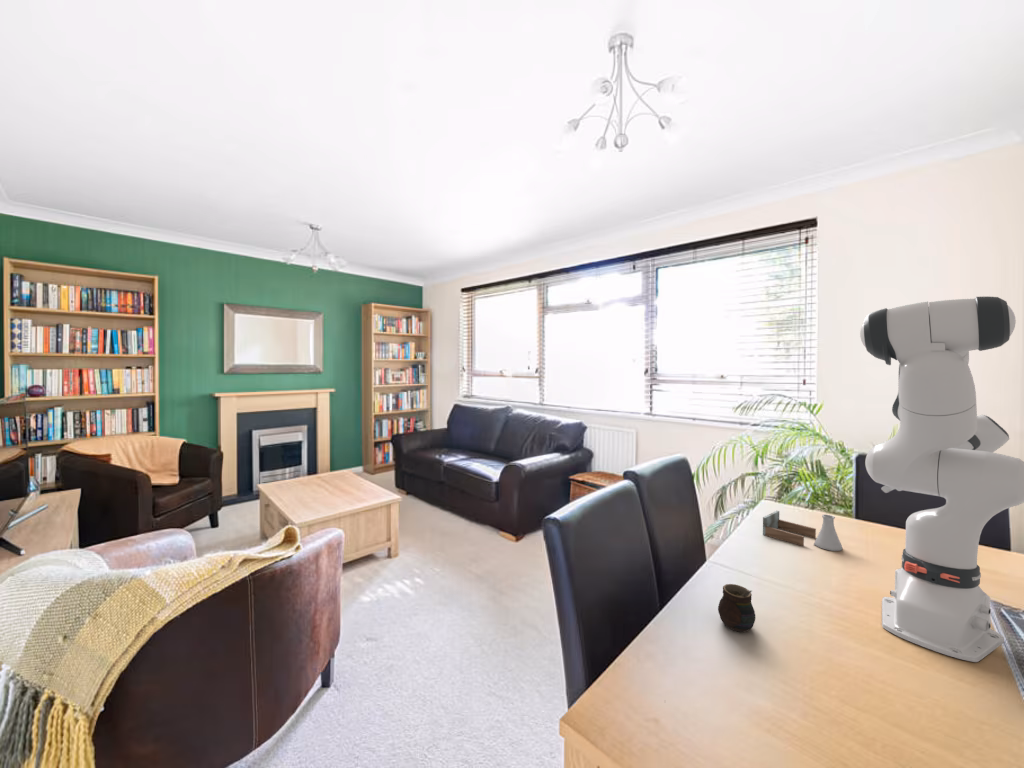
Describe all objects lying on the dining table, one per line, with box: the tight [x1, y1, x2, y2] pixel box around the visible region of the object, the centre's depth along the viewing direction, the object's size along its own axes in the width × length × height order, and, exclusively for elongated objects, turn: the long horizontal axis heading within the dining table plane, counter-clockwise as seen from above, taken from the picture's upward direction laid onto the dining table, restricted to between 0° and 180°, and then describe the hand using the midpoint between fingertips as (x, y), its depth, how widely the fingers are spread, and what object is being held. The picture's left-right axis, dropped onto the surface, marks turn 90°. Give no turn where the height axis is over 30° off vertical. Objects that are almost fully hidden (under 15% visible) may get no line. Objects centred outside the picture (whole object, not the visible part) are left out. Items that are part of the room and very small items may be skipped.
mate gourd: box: [717, 583, 756, 633], centre depth 89 cm, size 7×8×10 cm
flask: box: [813, 513, 843, 552], centre depth 130 cm, size 7×7×10 cm
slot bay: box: [762, 510, 817, 547], centre depth 139 cm, size 12×12×6 cm
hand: (884, 489), depth 119 cm, fingers closed
